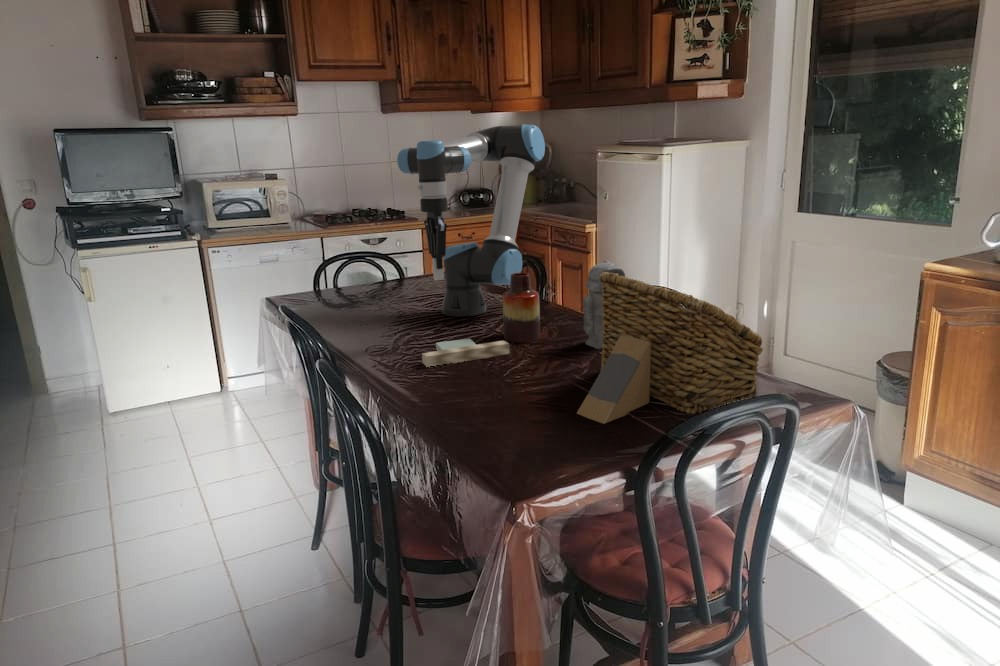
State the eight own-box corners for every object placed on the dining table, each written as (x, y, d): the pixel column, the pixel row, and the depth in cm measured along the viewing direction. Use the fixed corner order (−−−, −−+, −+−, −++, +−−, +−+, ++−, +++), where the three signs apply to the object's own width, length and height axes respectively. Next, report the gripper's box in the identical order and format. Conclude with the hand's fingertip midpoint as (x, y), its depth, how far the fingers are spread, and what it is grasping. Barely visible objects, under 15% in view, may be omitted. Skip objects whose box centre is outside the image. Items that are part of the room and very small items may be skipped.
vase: (547, 340, 213) (546, 272, 208) (523, 348, 205) (521, 278, 200) (520, 334, 220) (518, 269, 215) (496, 342, 212) (493, 275, 207)
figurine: (635, 346, 203) (636, 259, 197) (595, 354, 197) (594, 265, 190) (614, 339, 212) (614, 255, 205) (574, 347, 205) (573, 260, 198)
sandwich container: (573, 414, 155) (573, 348, 151) (620, 396, 165) (620, 334, 161) (604, 425, 149) (603, 356, 145) (650, 406, 158) (651, 340, 154)
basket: (780, 397, 160) (788, 279, 153) (690, 420, 149) (694, 294, 142) (674, 358, 191) (676, 258, 184) (593, 375, 180) (593, 270, 174)
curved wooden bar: (504, 354, 201) (503, 340, 200) (509, 357, 197) (509, 343, 196) (422, 367, 191) (421, 353, 190) (427, 371, 188) (426, 356, 187)
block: (470, 352, 205) (469, 338, 204) (478, 359, 198) (477, 345, 197) (436, 356, 203) (435, 342, 202) (443, 363, 195) (442, 349, 194)
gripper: (413, 196, 205) (419, 277, 211) (428, 199, 194) (434, 284, 200) (438, 194, 208) (443, 274, 214) (454, 197, 197) (459, 281, 203)
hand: (439, 279), depth 207 cm, fingers closed
